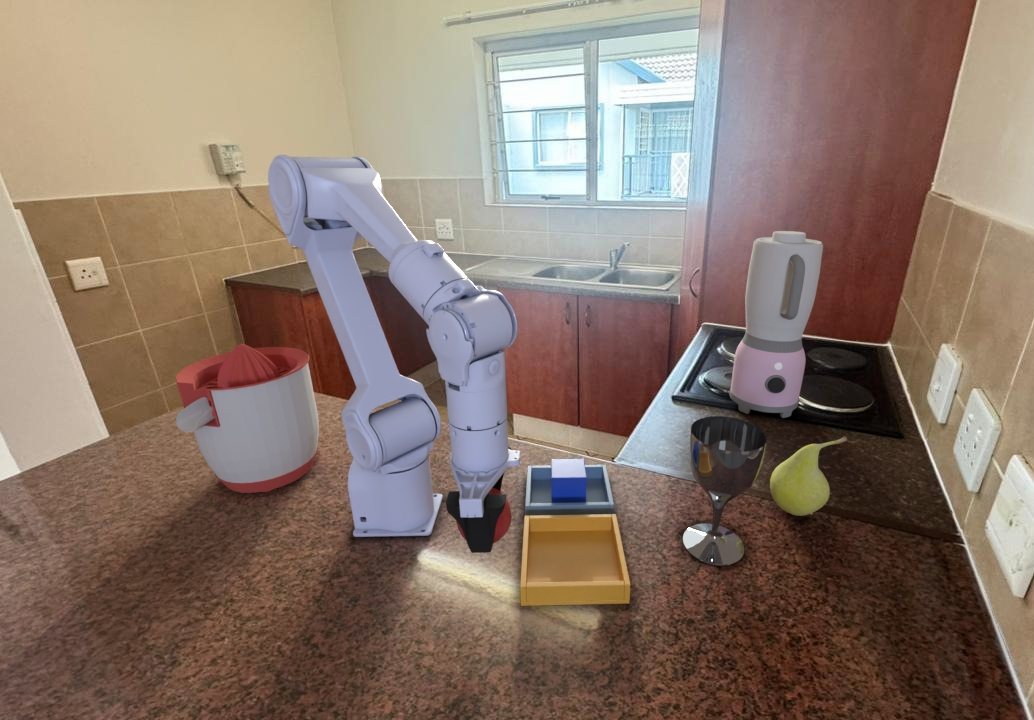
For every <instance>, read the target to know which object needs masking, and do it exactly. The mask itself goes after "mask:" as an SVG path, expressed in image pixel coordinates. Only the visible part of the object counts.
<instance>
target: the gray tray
mask: <svg viewBox="0 0 1034 720" xmlns="http://www.w3.org/2000/svg"><path fill="white" fill-rule="evenodd" d="M585 470H586V477H587V481H586V502H585V503H552V496H551V464H550V465H548V464H547V465H546V464H545V465H527V468H526V482H525V483H526V485H525V486H526V487H525V499H524V500H525V501H524V516H539V515H599V514H611V515H612V514H615V502H614V498H613V492H612V486H611V483H610V478H609V472H608V467H607V464H585Z"/></svg>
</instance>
